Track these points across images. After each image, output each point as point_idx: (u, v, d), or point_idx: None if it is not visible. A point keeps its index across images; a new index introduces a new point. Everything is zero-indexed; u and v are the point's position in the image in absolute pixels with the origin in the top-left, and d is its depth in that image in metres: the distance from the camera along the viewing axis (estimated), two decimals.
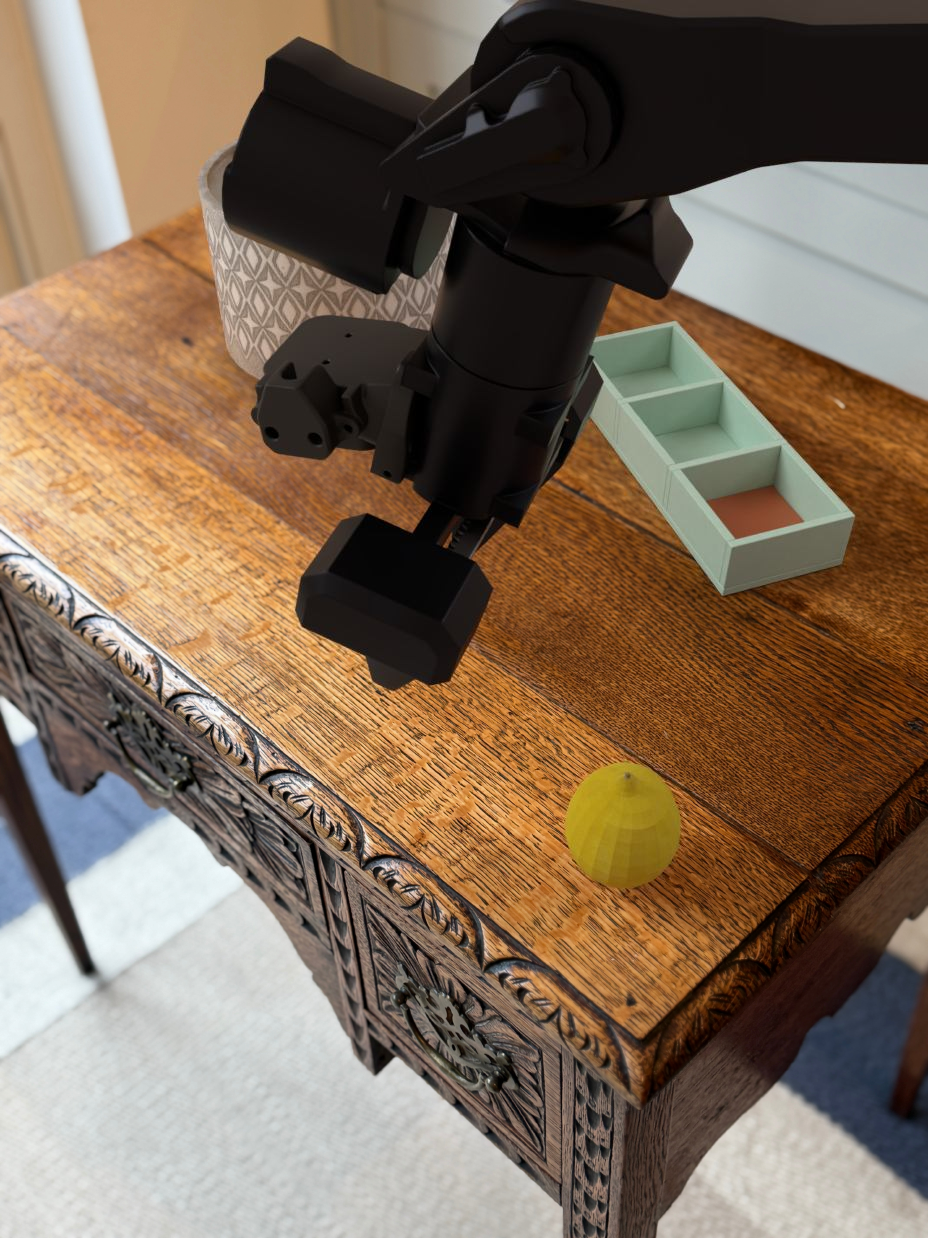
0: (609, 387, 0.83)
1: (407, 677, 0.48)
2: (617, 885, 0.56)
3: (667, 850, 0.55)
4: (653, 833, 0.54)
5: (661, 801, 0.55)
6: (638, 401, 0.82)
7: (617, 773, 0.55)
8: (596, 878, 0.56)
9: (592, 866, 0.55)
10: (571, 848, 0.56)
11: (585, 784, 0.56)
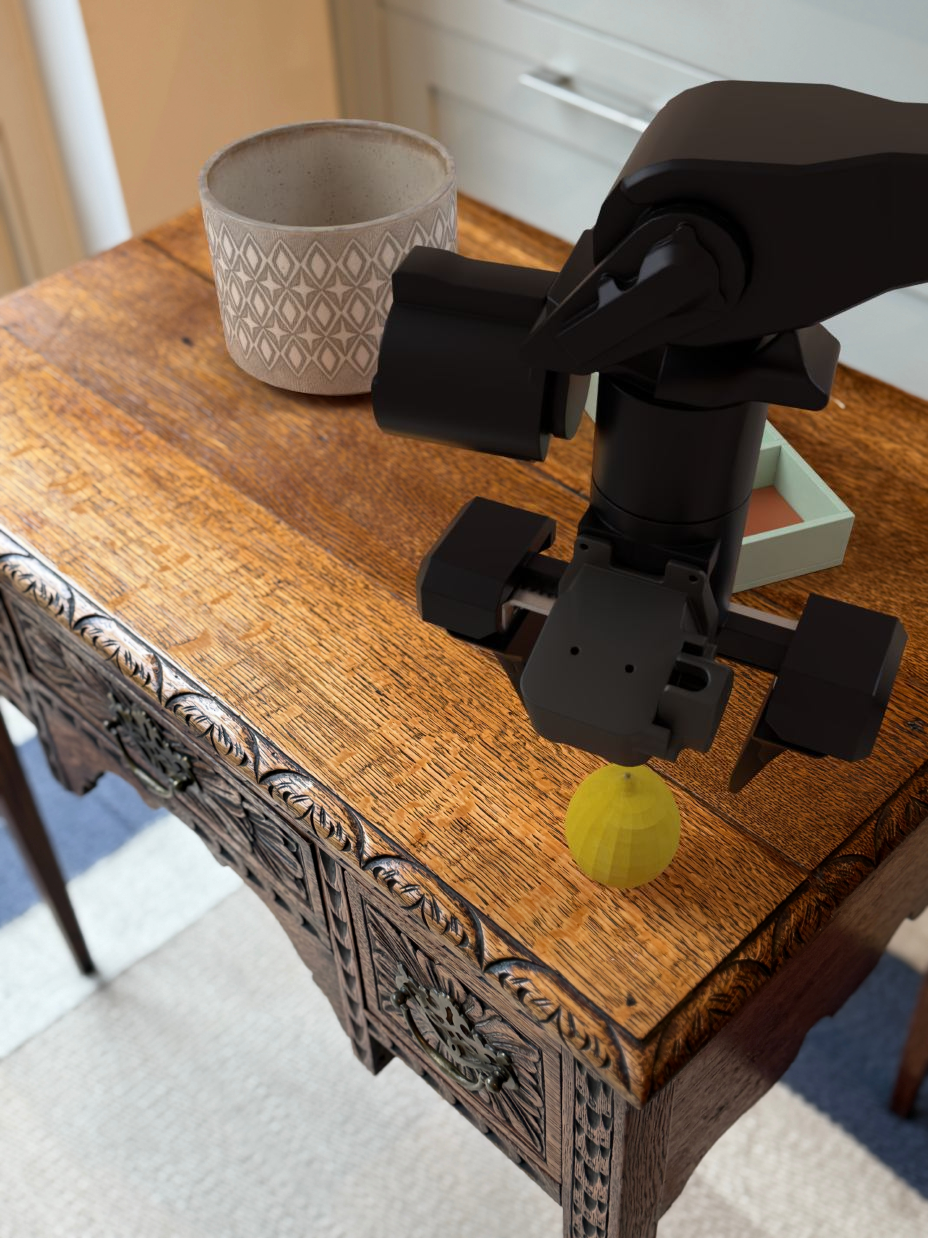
0: None
1: None
2: (617, 885, 0.56)
3: (667, 850, 0.55)
4: (653, 833, 0.54)
5: (661, 801, 0.55)
6: None
7: (617, 773, 0.55)
8: (596, 878, 0.56)
9: (592, 866, 0.55)
10: (571, 848, 0.56)
11: (585, 784, 0.56)
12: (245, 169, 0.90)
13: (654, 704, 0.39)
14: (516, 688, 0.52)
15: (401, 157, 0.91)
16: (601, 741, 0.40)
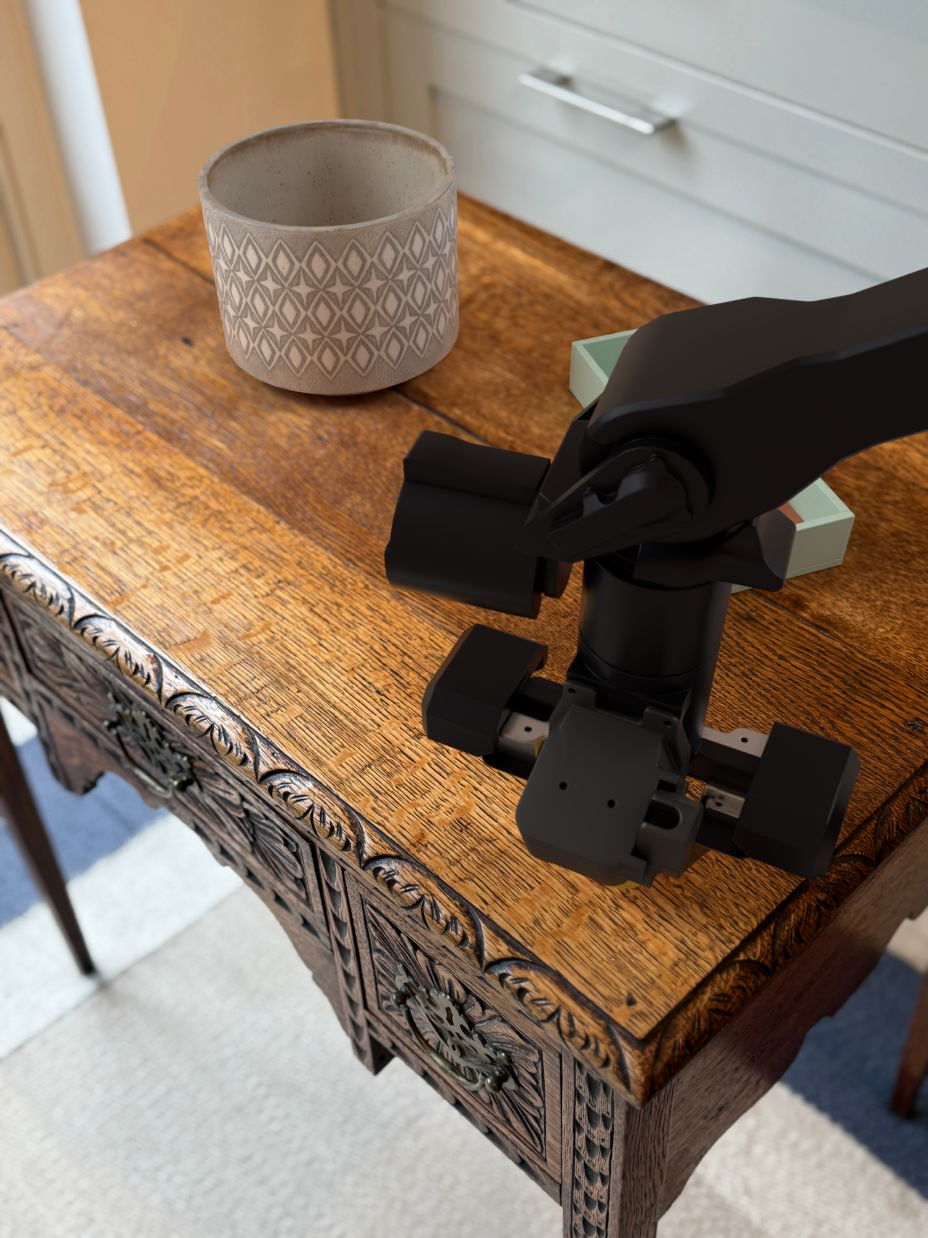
0: None
1: None
2: None
3: None
4: None
5: None
6: None
7: None
8: None
9: None
10: None
11: None
12: (245, 169, 0.90)
13: (632, 837, 0.45)
14: None
15: (401, 157, 0.91)
16: (586, 867, 0.46)
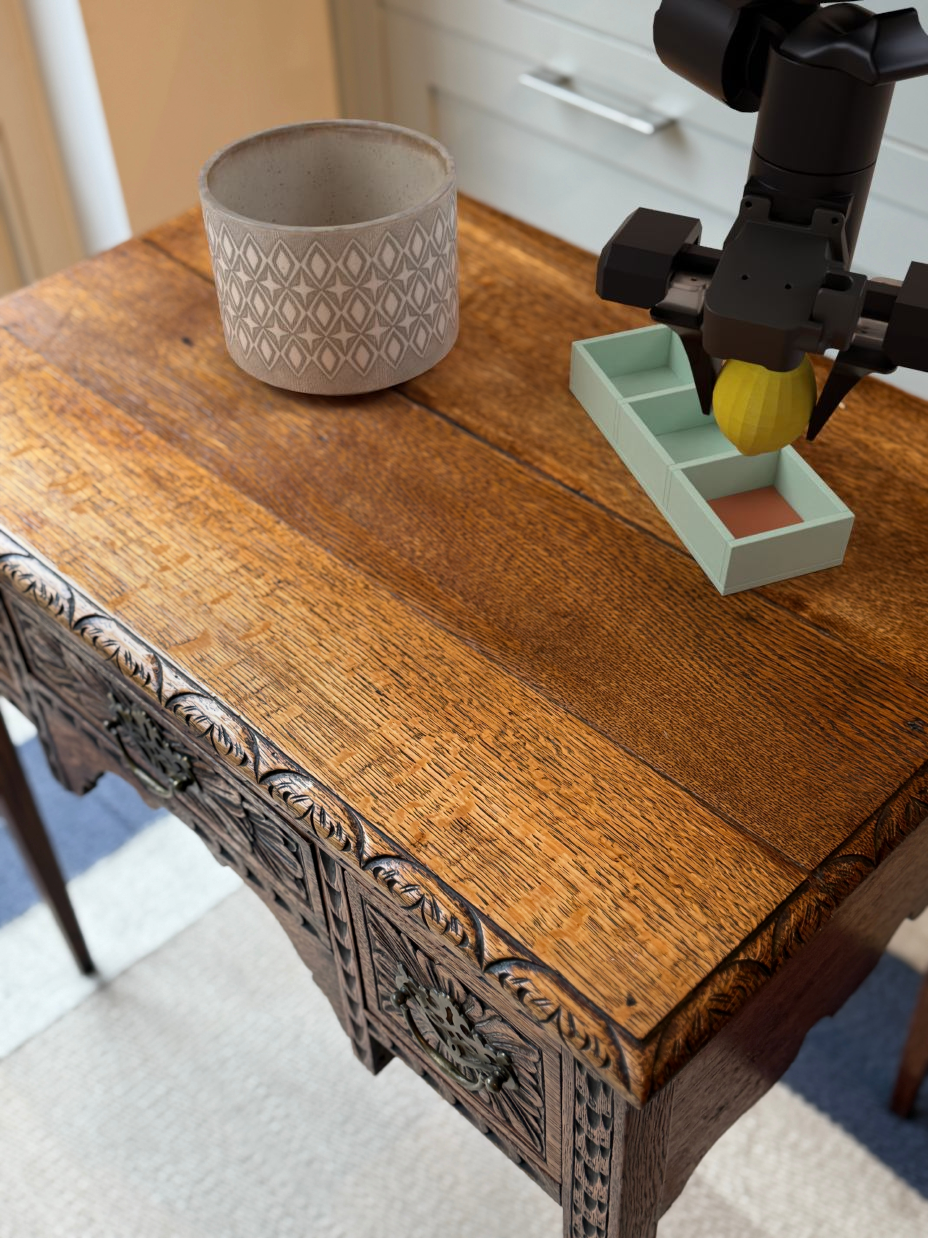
0: (609, 387, 0.83)
1: None
2: (762, 441, 0.64)
3: (808, 404, 0.63)
4: (798, 383, 0.62)
5: (804, 358, 0.62)
6: (638, 401, 0.82)
7: None
8: (743, 436, 0.64)
9: (742, 421, 0.63)
10: (721, 411, 0.64)
11: None
12: (245, 169, 0.90)
13: (809, 308, 0.53)
14: (695, 377, 0.65)
15: (401, 157, 0.91)
16: (766, 343, 0.54)
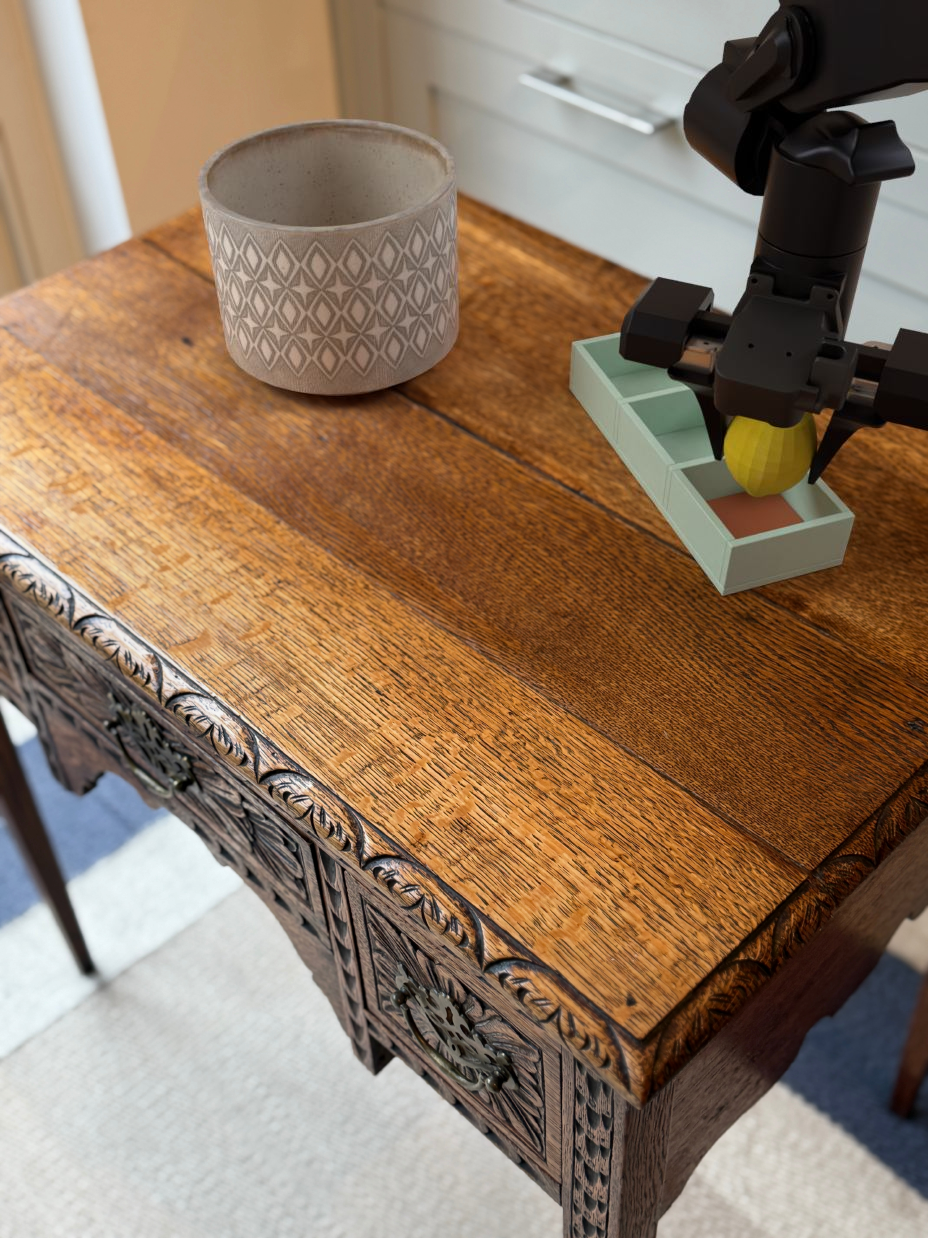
0: (609, 387, 0.83)
1: None
2: (768, 485, 0.71)
3: (809, 452, 0.70)
4: (800, 433, 0.69)
5: None
6: (638, 401, 0.82)
7: None
8: (751, 480, 0.71)
9: (750, 466, 0.71)
10: (731, 457, 0.72)
11: None
12: (245, 169, 0.90)
13: (807, 373, 0.60)
14: (708, 427, 0.72)
15: (401, 157, 0.91)
16: (769, 403, 0.61)
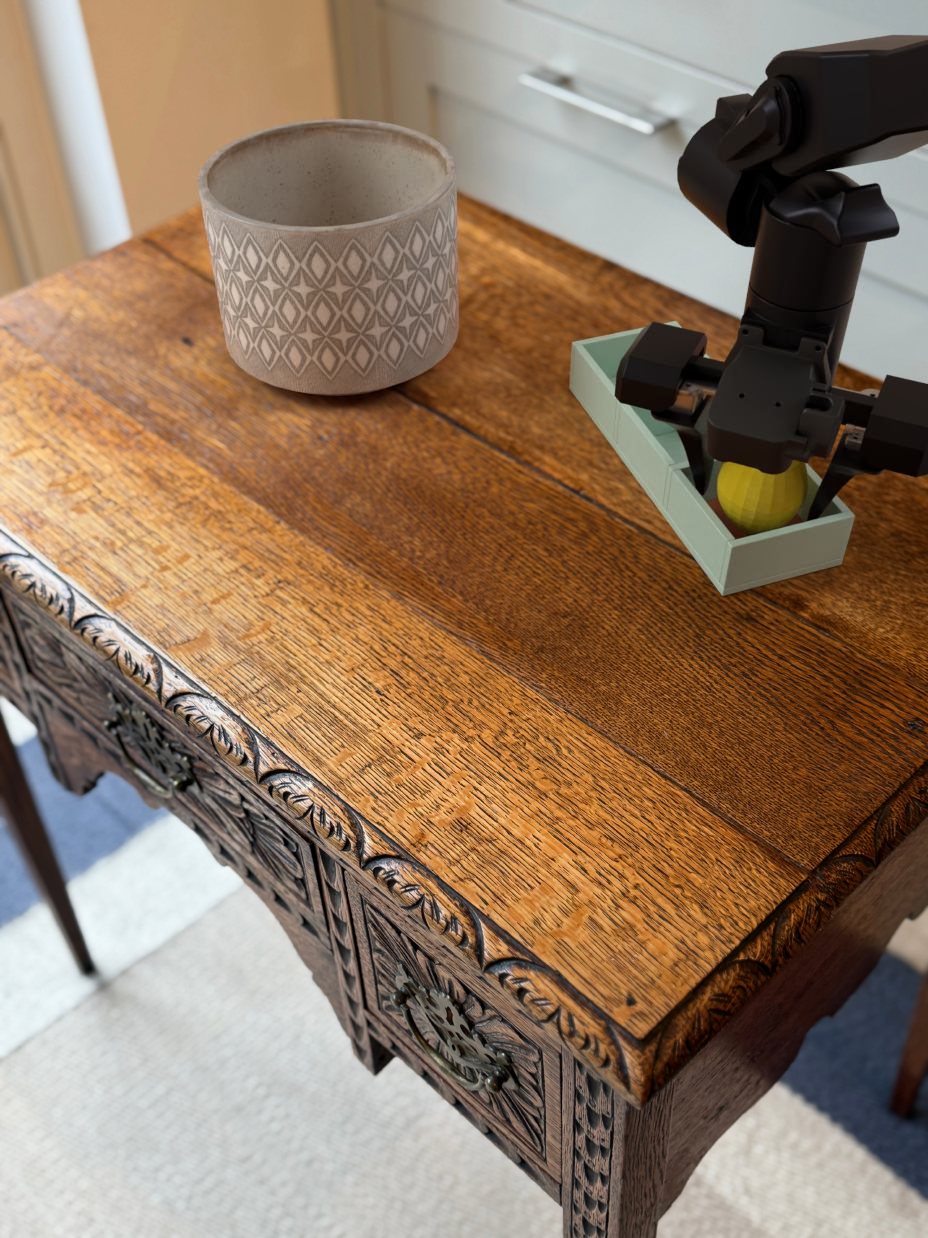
0: (609, 387, 0.83)
1: None
2: (760, 524, 0.73)
3: (799, 492, 0.72)
4: (791, 475, 0.72)
5: None
6: None
7: None
8: (743, 519, 0.74)
9: (742, 506, 0.73)
10: (724, 497, 0.74)
11: None
12: (245, 169, 0.90)
13: (795, 423, 0.62)
14: (691, 464, 0.75)
15: (401, 157, 0.91)
16: (759, 451, 0.63)
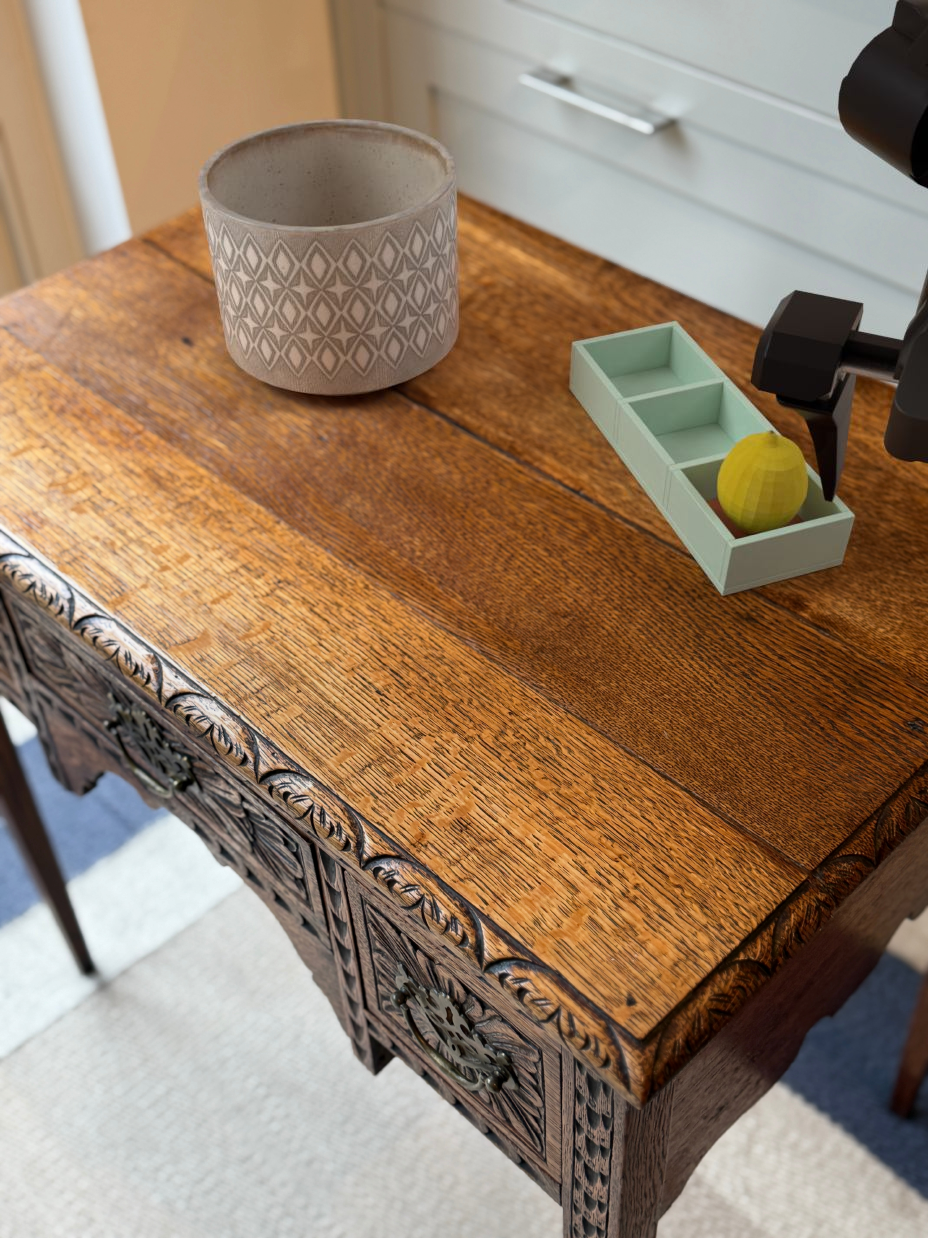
0: (609, 387, 0.83)
1: None
2: (760, 524, 0.73)
3: (799, 492, 0.72)
4: (791, 475, 0.72)
5: (796, 453, 0.72)
6: (638, 401, 0.82)
7: (761, 434, 0.73)
8: (743, 519, 0.74)
9: (742, 506, 0.73)
10: (724, 497, 0.74)
11: (736, 446, 0.73)
12: (245, 169, 0.90)
13: None
14: (820, 462, 0.60)
15: (401, 157, 0.91)
16: None
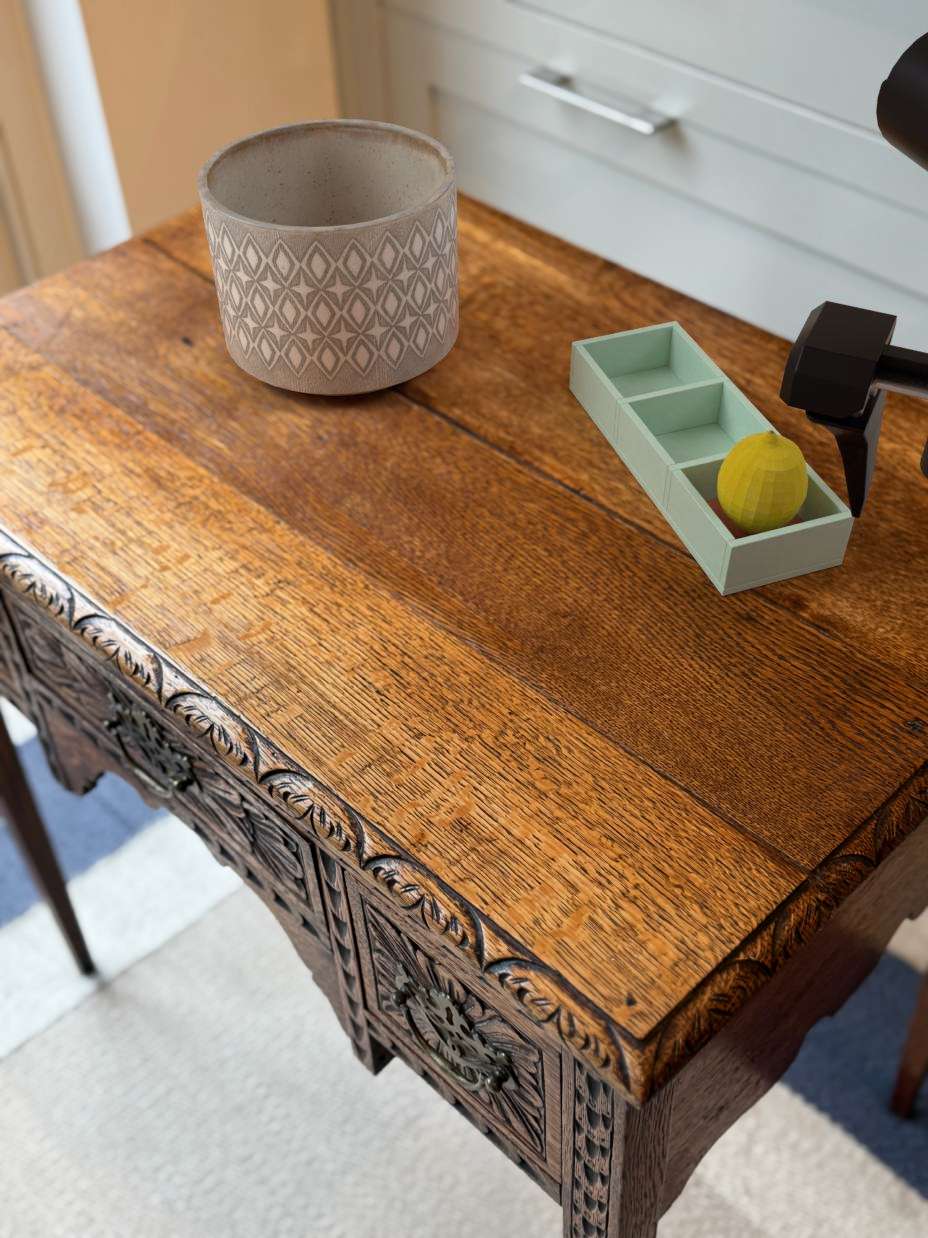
0: (609, 387, 0.83)
1: None
2: (760, 524, 0.73)
3: (799, 492, 0.72)
4: (791, 475, 0.72)
5: (796, 453, 0.72)
6: (638, 401, 0.82)
7: (761, 434, 0.73)
8: (743, 519, 0.74)
9: (742, 506, 0.73)
10: (724, 497, 0.74)
11: (736, 446, 0.73)
12: (245, 169, 0.90)
13: None
14: (848, 478, 0.59)
15: (401, 157, 0.91)
16: None
